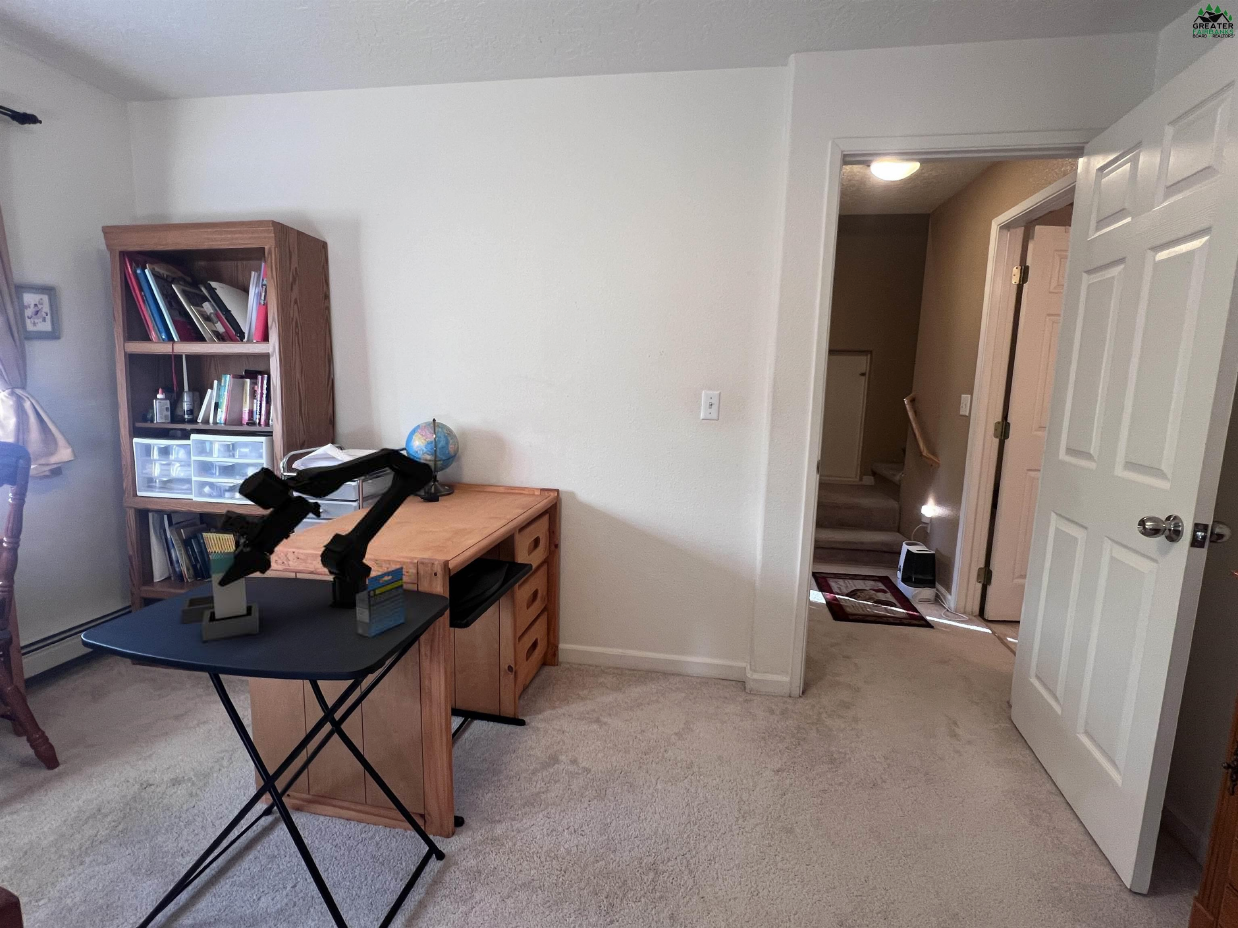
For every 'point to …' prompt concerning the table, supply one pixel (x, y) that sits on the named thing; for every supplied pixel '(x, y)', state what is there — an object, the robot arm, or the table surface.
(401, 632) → the table surface
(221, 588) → the plug
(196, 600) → the frame
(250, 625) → the port
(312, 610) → the table surface
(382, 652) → the table surface
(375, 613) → the label tape cartridge
